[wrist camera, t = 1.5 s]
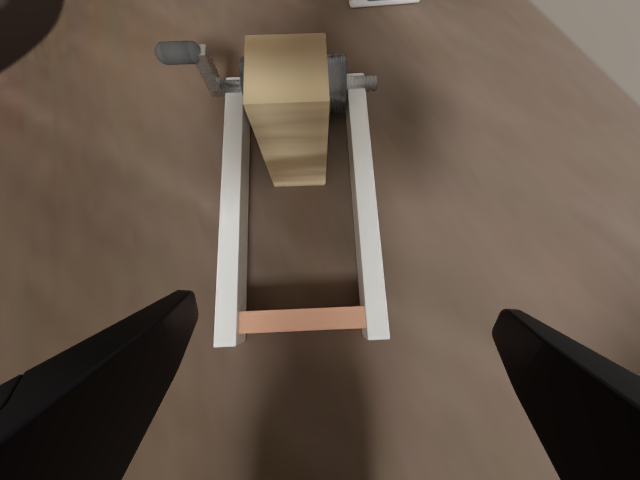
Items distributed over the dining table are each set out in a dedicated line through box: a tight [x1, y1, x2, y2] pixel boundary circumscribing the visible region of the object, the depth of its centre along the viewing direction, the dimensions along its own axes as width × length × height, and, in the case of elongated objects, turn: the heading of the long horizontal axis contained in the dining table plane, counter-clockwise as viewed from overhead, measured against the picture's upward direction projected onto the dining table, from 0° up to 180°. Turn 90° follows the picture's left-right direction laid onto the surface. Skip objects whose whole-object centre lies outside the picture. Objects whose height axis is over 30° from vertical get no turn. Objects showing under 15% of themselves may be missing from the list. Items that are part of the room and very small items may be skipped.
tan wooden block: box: [243, 33, 330, 187], centre depth 19 cm, size 4×4×10 cm
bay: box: [154, 41, 390, 347], centre depth 20 cm, size 23×17×6 cm
